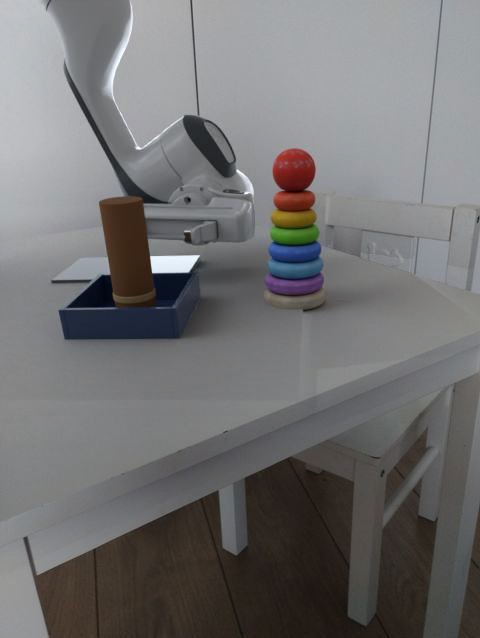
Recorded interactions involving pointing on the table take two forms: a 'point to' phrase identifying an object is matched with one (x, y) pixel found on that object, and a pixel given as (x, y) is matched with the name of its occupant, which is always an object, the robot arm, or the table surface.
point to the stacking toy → (294, 237)
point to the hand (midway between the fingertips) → (155, 236)
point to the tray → (131, 310)
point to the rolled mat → (128, 251)
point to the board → (92, 267)
